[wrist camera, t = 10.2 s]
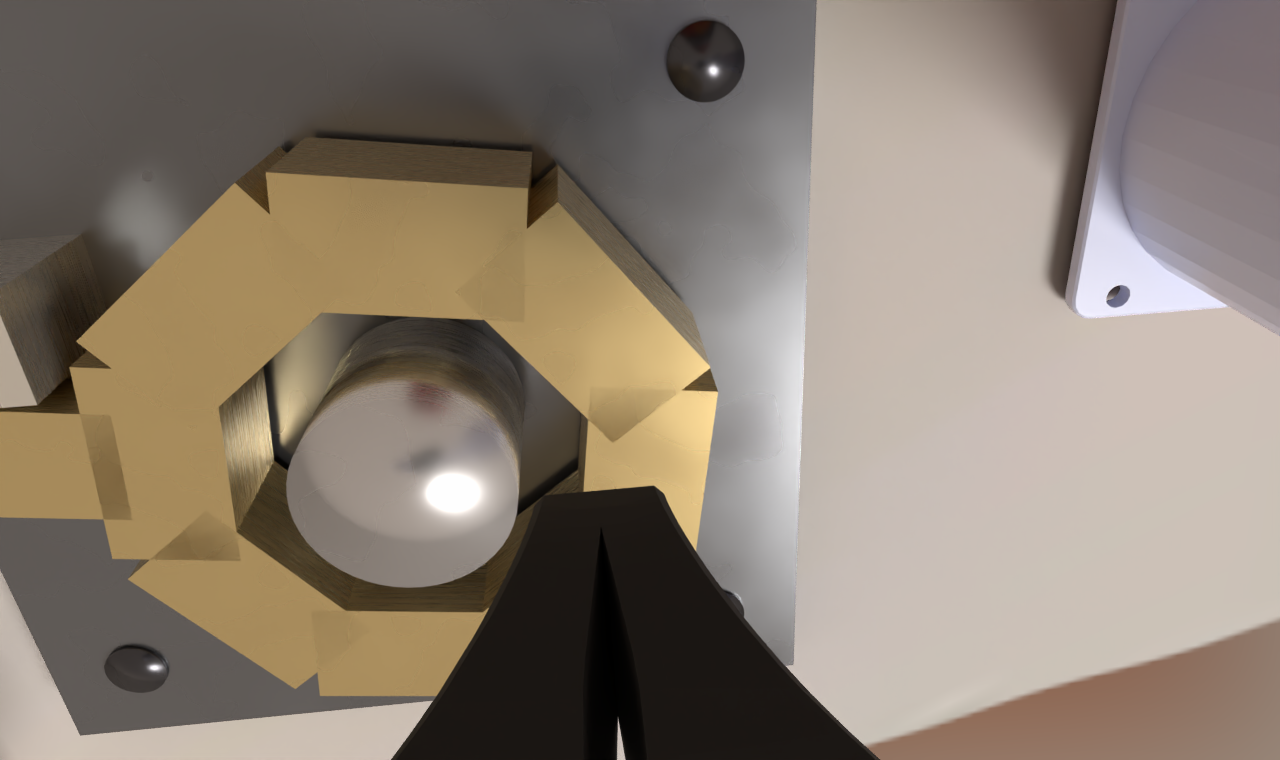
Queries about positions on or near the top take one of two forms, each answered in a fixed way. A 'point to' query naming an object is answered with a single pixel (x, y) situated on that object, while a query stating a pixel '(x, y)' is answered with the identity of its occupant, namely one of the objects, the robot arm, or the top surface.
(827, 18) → the top surface
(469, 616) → the handled octagonal ring
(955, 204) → the top surface
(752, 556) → the flange plate
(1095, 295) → the robot arm
